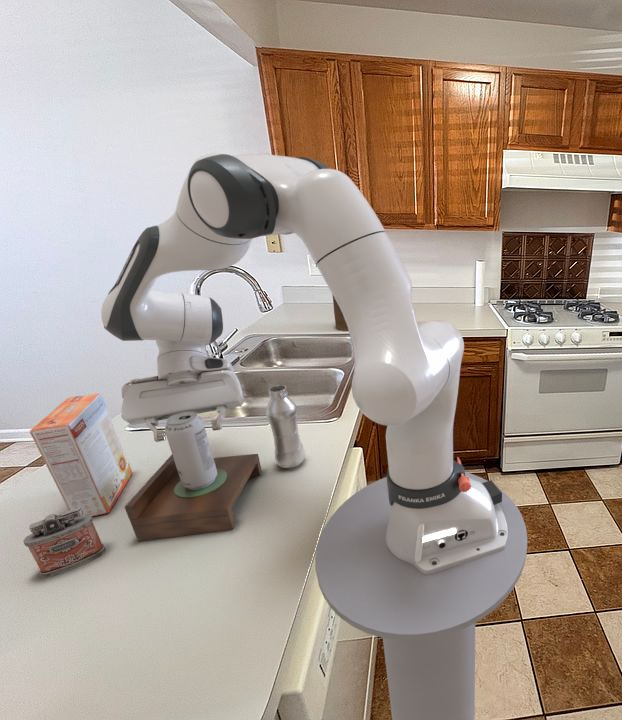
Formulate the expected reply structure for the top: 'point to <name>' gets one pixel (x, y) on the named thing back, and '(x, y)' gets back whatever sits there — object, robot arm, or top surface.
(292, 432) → the silver metal bottle
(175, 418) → the energy drink can
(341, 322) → the wooden container
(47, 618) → the top surface
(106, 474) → the cracker box
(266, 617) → the top surface
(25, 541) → the lighter
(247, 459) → the shelf
